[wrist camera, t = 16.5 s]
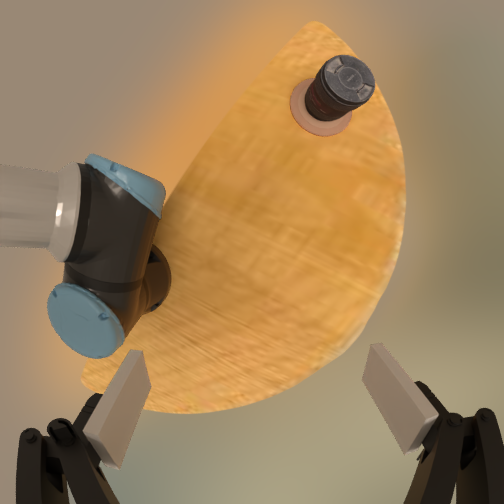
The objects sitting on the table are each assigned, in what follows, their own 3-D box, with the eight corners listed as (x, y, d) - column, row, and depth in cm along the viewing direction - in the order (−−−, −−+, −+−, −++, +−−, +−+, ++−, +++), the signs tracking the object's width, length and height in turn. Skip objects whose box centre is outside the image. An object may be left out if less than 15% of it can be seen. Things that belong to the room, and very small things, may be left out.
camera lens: (292, 108, 44) (312, 78, 29) (314, 78, 42) (339, 43, 28) (328, 134, 45) (361, 114, 30) (349, 103, 44) (385, 78, 29)
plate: (290, 134, 46) (291, 133, 45) (288, 76, 43) (289, 74, 42) (352, 139, 46) (353, 138, 45) (348, 83, 43) (349, 82, 43)
